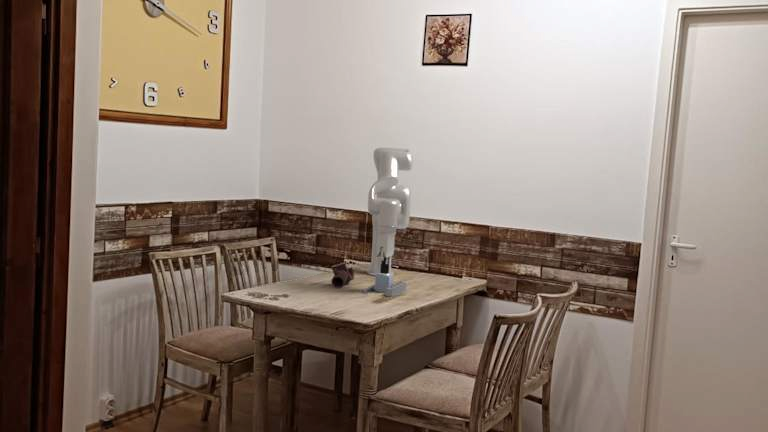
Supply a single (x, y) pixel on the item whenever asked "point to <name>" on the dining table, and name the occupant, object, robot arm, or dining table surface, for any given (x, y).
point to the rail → (390, 289)
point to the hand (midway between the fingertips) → (384, 273)
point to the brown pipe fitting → (342, 275)
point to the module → (383, 282)
